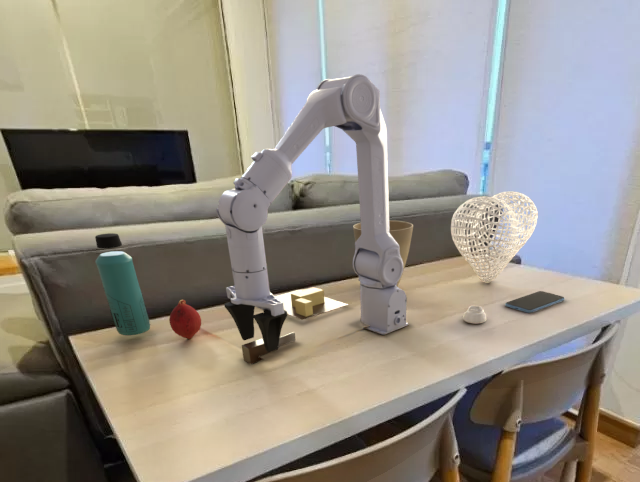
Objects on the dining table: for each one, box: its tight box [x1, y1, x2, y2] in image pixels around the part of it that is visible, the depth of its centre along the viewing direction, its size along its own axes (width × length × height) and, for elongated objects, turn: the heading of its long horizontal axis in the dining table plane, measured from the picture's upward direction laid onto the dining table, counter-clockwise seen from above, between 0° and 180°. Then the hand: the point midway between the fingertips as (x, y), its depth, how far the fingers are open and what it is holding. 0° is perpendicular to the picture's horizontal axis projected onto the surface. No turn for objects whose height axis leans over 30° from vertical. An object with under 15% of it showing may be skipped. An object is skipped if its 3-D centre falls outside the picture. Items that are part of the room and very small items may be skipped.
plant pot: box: [352, 219, 414, 288], centre depth 118 cm, size 15×15×16 cm
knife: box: [241, 331, 296, 365], centre depth 86 cm, size 11×2×3 cm, turn 136°
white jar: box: [462, 305, 488, 325], centre depth 100 cm, size 5×3×5 cm
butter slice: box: [295, 298, 313, 317], centre depth 102 cm, size 4×2×3 cm, turn 46°
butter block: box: [291, 286, 325, 307], centre depth 107 cm, size 4×7×3 cm, turn 136°
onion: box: [168, 299, 202, 340], centre depth 91 cm, size 6×6×8 cm
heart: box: [450, 190, 539, 284], centre depth 121 cm, size 28×16×22 cm, turn 139°
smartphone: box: [504, 290, 565, 314], centre depth 110 cm, size 7×1×15 cm
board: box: [274, 289, 350, 321], centre depth 109 cm, size 18×14×1 cm
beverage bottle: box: [94, 232, 152, 336], centre depth 89 cm, size 6×7×20 cm
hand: (260, 344), depth 84 cm, fingers open, 7 cm apart
